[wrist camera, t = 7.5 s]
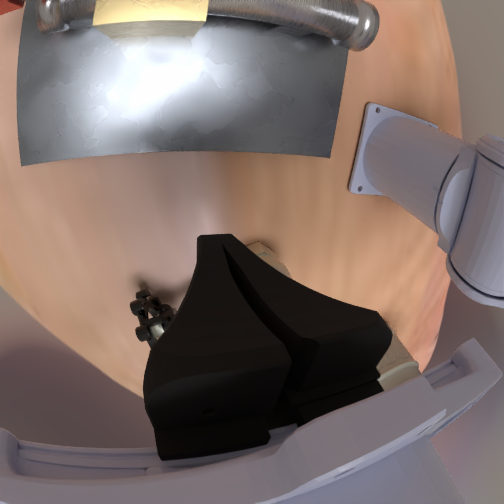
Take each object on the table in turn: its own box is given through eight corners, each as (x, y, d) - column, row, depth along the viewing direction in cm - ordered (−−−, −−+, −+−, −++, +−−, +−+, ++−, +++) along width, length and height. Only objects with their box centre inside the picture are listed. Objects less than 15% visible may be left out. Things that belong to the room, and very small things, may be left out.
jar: (296, 362, 37) (352, 476, 23) (375, 303, 35) (454, 410, 21) (333, 381, 45) (379, 466, 31) (395, 334, 42) (453, 415, 28)
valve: (265, 219, 23) (130, 276, 23) (299, 268, 18) (128, 338, 17) (282, 276, 27) (166, 324, 27) (312, 327, 22) (174, 382, 21)
